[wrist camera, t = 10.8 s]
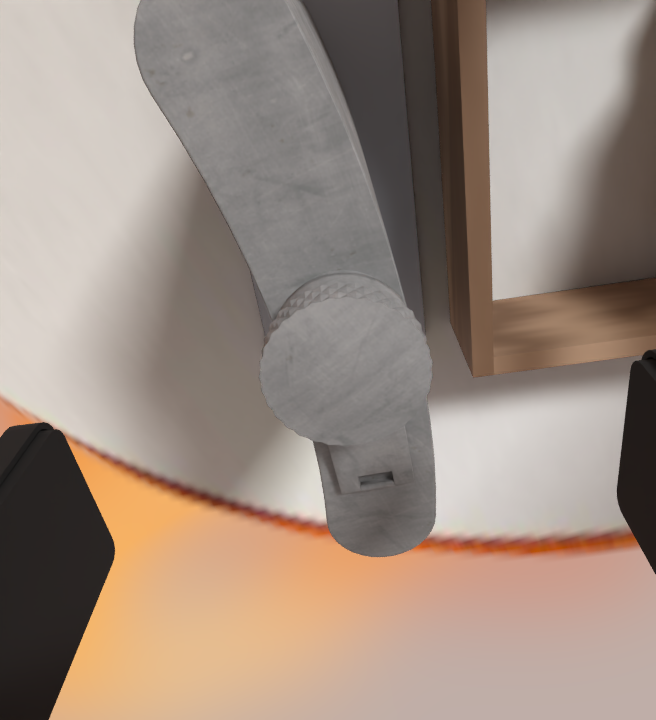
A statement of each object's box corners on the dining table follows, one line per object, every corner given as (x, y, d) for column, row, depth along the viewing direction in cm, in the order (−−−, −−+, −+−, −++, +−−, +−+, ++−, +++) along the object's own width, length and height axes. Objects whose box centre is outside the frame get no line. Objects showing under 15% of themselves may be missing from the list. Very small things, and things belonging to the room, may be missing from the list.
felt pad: (388, -92, 25) (389, -93, 25) (424, 334, 35) (425, 337, 34) (177, -52, 26) (175, -53, 25) (271, 355, 35) (270, 358, 35)
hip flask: (230, 2, 26) (49, -22, 9) (320, -30, 26) (313, -123, 8) (334, 319, 34) (346, 640, 16) (405, 299, 33) (495, 610, 16)
